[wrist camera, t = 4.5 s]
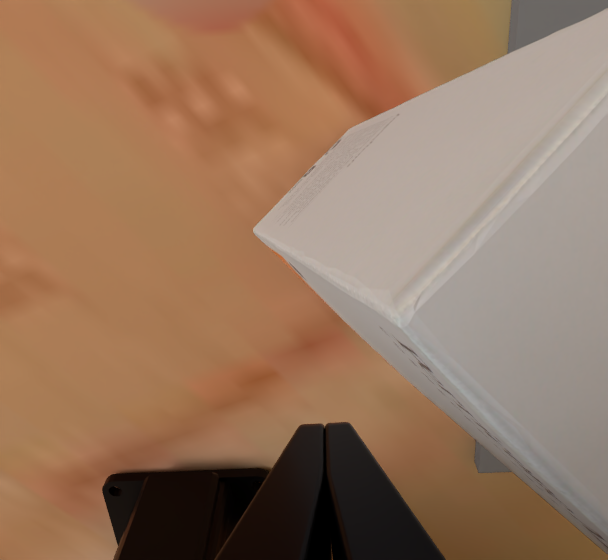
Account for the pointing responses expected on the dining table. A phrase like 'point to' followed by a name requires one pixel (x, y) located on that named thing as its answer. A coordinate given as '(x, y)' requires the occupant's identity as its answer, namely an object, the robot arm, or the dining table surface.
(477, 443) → the mat
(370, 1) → the dining table surface
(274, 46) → the dining table surface
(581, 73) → the skincare box
